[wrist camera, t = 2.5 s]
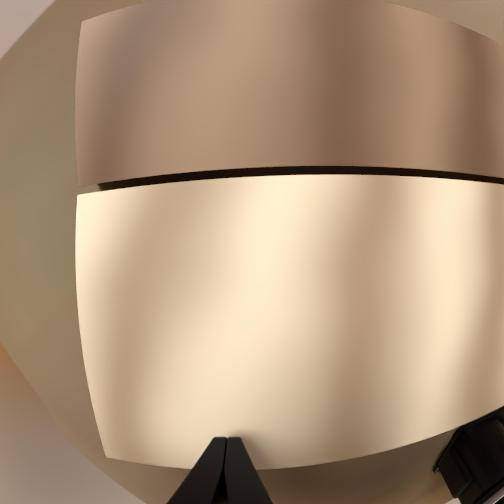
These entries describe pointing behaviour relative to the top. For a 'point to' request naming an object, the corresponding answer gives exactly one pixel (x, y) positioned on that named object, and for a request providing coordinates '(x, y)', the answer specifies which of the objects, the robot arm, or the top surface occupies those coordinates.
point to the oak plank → (290, 314)
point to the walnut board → (284, 89)
